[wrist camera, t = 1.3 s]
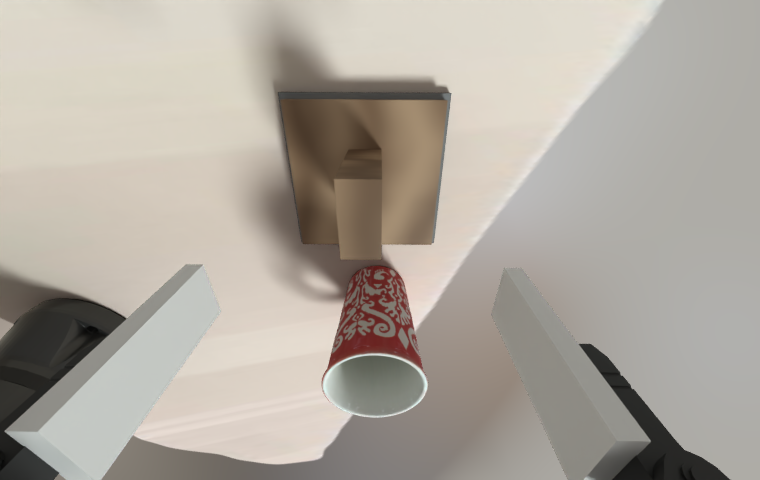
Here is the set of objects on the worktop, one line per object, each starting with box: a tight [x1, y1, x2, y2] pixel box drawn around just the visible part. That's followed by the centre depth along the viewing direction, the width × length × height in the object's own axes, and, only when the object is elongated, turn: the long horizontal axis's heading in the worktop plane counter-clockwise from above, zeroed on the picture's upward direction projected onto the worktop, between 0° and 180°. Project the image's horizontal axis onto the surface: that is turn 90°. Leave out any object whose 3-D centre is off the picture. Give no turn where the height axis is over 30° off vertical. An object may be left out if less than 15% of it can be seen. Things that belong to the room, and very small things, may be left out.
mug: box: [322, 266, 428, 417], centre depth 30 cm, size 13×9×14 cm
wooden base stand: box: [280, 99, 448, 260], centre depth 23 cm, size 14×14×10 cm
